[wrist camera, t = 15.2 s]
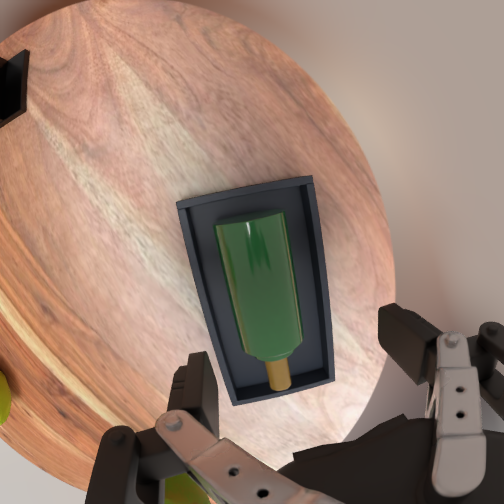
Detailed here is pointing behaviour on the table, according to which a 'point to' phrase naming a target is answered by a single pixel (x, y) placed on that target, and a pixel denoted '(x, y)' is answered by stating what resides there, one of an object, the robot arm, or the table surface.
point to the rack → (13, 86)
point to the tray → (307, 275)
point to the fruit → (4, 399)
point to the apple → (184, 491)
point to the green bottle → (262, 288)
